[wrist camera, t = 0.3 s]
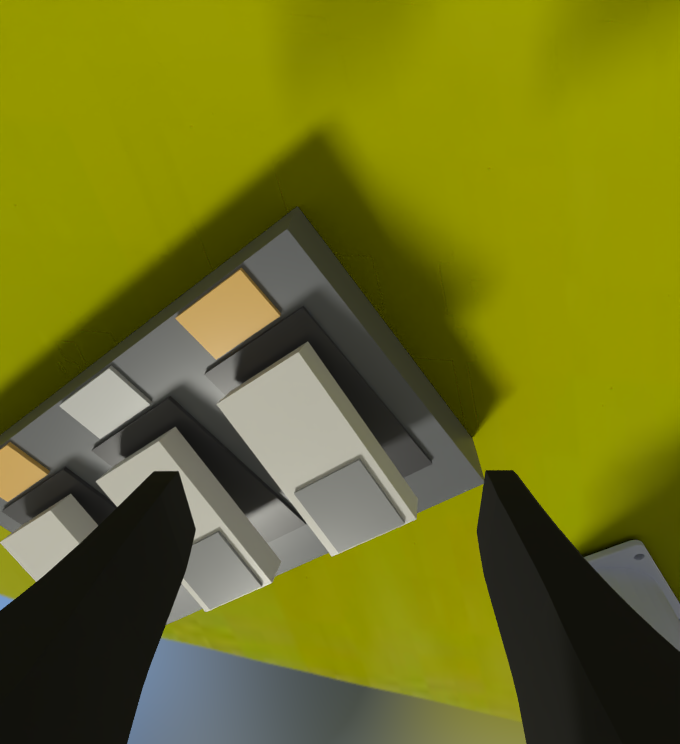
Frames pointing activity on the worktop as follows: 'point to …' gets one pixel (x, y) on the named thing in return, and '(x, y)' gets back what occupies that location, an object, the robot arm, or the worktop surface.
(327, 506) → the block
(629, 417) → the worktop surface
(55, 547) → the block
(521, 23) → the worktop surface
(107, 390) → the switch unit
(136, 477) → the rocker middle
